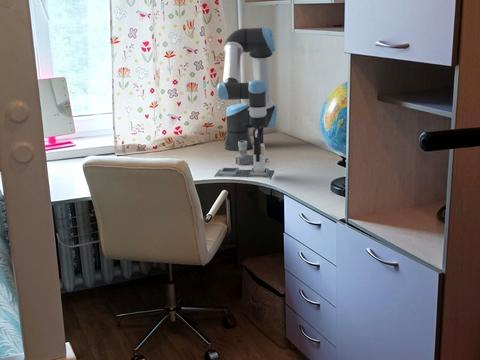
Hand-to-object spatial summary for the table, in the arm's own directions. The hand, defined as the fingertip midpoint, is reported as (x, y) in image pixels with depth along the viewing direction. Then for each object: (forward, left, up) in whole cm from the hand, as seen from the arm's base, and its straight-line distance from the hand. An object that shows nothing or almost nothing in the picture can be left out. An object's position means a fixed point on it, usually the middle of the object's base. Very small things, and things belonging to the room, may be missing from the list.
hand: (259, 166), depth 289 cm
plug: (0, 0, -3) cm, 3 cm away
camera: (-20, -8, -5) cm, 22 cm away
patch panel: (0, -7, -4) cm, 8 cm away
